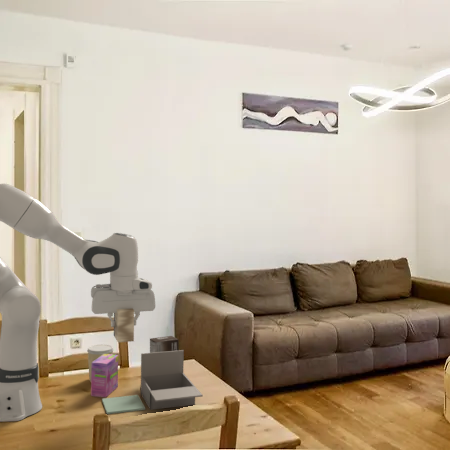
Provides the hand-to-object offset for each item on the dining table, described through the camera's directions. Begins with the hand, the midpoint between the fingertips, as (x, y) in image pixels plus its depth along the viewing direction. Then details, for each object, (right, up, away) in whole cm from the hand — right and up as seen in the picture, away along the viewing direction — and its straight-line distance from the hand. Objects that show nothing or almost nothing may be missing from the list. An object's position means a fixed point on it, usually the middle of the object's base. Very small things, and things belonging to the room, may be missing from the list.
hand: (123, 325), depth 176 cm
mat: (0, -26, +1) cm, 26 cm away
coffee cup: (-13, -25, +25) cm, 38 cm away
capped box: (0, -4, 0) cm, 4 cm away
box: (-9, -26, +13) cm, 30 cm away
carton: (+15, -26, +4) cm, 30 cm away
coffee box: (+10, -25, +24) cm, 37 cm away
